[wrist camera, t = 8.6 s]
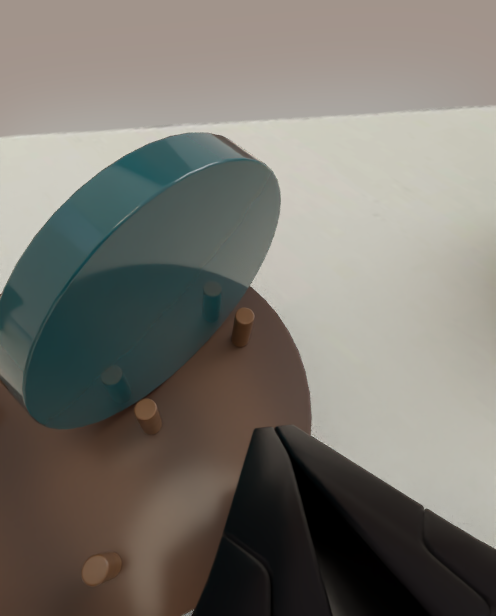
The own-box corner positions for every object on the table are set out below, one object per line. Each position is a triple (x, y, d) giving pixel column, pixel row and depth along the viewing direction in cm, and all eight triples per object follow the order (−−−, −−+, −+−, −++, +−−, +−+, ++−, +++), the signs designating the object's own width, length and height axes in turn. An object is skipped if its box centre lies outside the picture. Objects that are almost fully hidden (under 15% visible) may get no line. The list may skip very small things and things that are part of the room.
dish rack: (100, 762, 11) (-337, 1743, 2) (-148, 414, 14) (-695, 220, 6) (369, 400, 17) (561, 245, 8) (146, 216, 20) (104, -32, 11)
